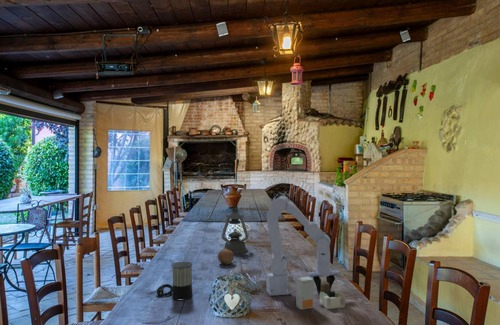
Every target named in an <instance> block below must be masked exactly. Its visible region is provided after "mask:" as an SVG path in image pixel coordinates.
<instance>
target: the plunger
mask: <svg viewBox="0 0 500 325" xmlns="http://www.w3.org/2000/svg"><path fill="white" fill-rule="evenodd" d="M335 291H336V290H331V291H323V292H324V293H326V294H327V295H328V297H330V298H331V297H335Z"/></svg>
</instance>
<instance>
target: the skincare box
mask: <svg viewBox="0 0 500 325" xmlns="http://www.w3.org/2000/svg"><path fill="white" fill-rule="evenodd" d="M295 279H296V290H295V291H296V295H295V298H296V300H295V301H296V303H295V304H296V305H295V306H296V307H297V309H299V310H307V309H313V308H314V284H315V282H314V279H313V277H311V278H310V277H307V276H302V277H297V278H295Z"/></svg>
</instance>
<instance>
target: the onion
mask: <svg viewBox="0 0 500 325" xmlns="http://www.w3.org/2000/svg"><path fill="white" fill-rule="evenodd" d="M224 248H225V247H224ZM224 248H223V249H222V250H220V251H219V252H218V254H217V258H218V262H219V263H220V264H222V265H224V266H227V265H230V264H231V263H233V262H234V257H235V256H234V255H235V254H233V252H232V251H230V250H228V249H227V248H225V249H224Z"/></svg>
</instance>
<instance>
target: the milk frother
mask: <svg viewBox="0 0 500 325" xmlns="http://www.w3.org/2000/svg"><path fill="white" fill-rule="evenodd" d="M192 266H193V263H192V262H190V261H177V262H174V263H172V264H171V267H172V285H171V284H169V283H165V284H164V283H163V284H162V285H160V286H158V288H157V289H156V291H155V292H156V295H158V296H161V297H167V295H168V296H170V295H171V294H172V295H171V298H172V299H173V298H174V299H173V300H175V299H187V300H189V299H188V298H190V299H192V298H193V297H192V296H194V294H193V273H192V272H193V269H192V268H193V267H192ZM165 288H168V289H170V290H169V291H168V292H166V293H165V292H164V290H165ZM191 297H192V298H191Z"/></svg>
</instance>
